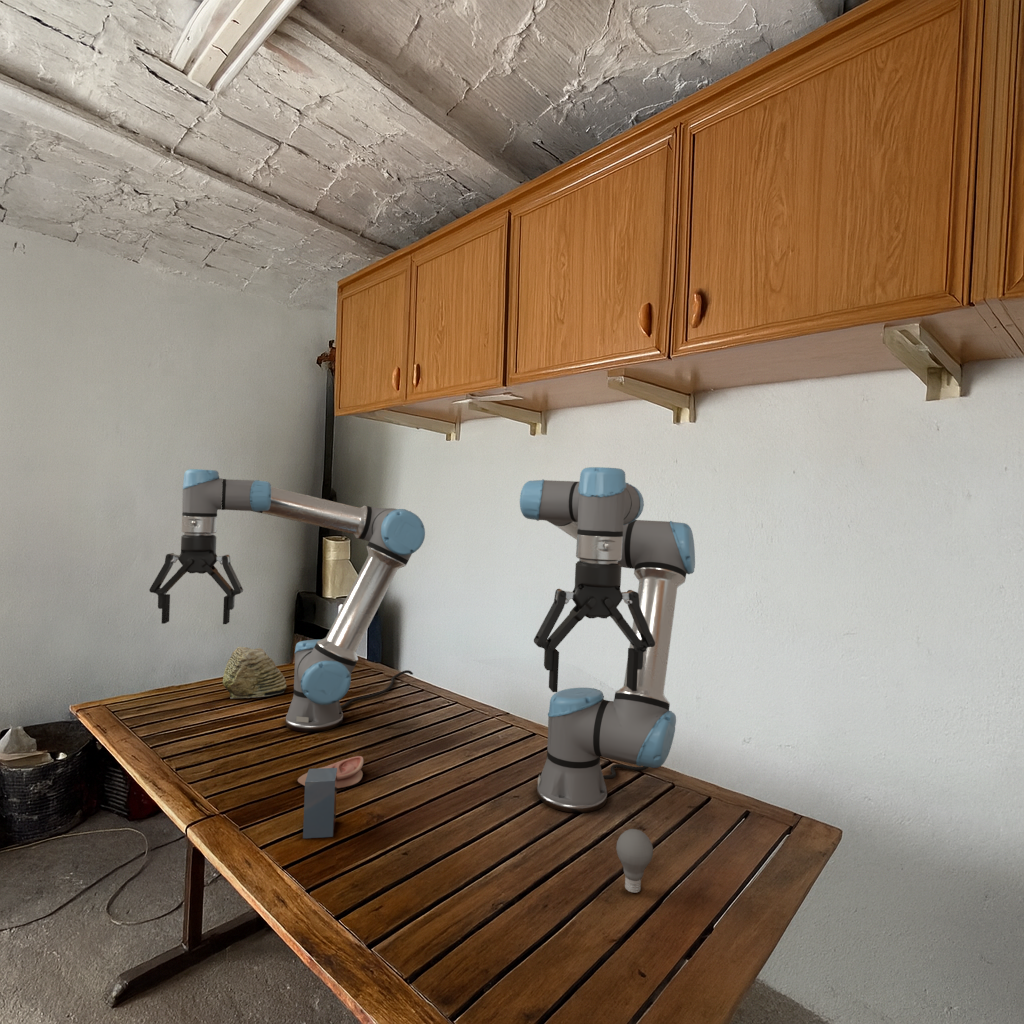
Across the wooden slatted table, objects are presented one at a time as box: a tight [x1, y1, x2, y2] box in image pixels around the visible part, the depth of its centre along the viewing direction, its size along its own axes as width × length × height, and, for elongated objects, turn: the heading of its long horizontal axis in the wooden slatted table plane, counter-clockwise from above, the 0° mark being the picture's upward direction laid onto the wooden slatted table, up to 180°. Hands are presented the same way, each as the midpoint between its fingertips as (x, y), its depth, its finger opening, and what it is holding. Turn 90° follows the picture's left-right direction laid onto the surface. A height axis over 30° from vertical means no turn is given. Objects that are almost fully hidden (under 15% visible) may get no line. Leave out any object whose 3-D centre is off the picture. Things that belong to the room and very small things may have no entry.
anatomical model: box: [297, 755, 364, 789], centre depth 142 cm, size 13×4×12 cm
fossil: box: [222, 646, 288, 699], centre depth 198 cm, size 9×18×15 cm, turn 132°
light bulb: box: [615, 828, 654, 894], centre depth 106 cm, size 6×6×10 cm
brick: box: [302, 767, 338, 839], centre depth 121 cm, size 6×5×11 cm
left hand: (196, 623), depth 151 cm, fingers open, 13 cm apart
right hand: (592, 689), depth 105 cm, fingers open, 13 cm apart
